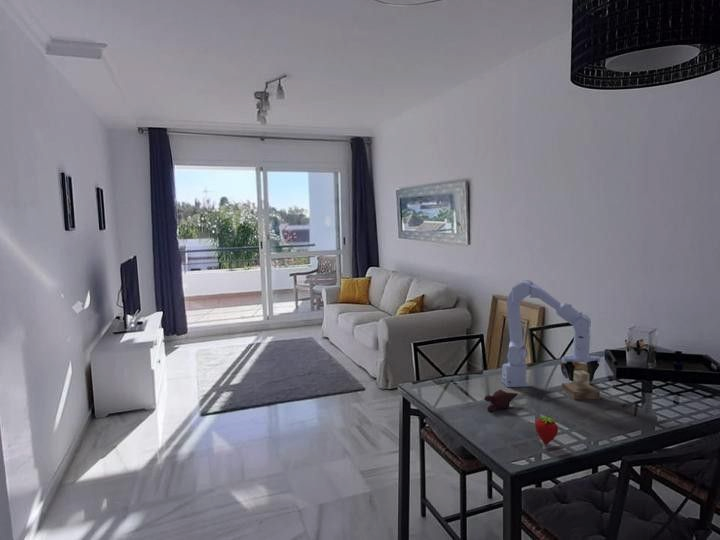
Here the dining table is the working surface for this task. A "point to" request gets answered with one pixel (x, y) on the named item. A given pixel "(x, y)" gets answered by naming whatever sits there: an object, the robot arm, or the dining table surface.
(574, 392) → the plinth
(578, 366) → the tin
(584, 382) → the birch block
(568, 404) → the dining table surface
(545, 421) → the strawberry
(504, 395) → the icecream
